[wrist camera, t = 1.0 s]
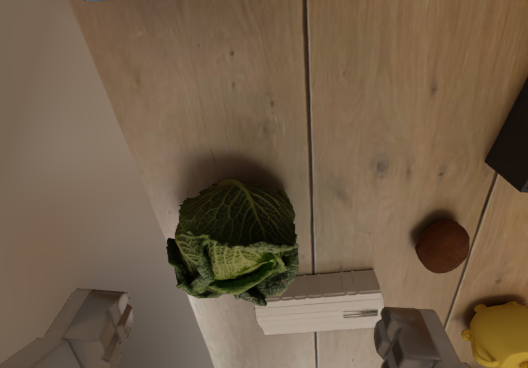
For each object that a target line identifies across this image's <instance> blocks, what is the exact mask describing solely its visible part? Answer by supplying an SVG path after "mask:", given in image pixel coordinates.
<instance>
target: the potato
mask: <svg viewBox="0 0 528 368" xmlns="http://www.w3.org/2000/svg"><path fill="white" fill-rule="evenodd" d="M469 239H470V238H469V235H468V233H467V232H466V230H465V229H464V228H463V227H462V226H460V225H459V224H458V223H457V222H455V221H453V220H450V219H443V220H440V221H437V222H435V223H433V224H432V225H430V226H429V227H428V228H427V229H426V230H425V231H424V232H423V233H422V235H421V236H420V237H419V239H418V240H417V243H416V246H415V249H416V253H417V256H418V258H419V260H420V261H421V262H422V264H423V265H424V266H425V267H426V268H427V269H428V270H430V271H431V272H433V273H446V272H449V271H452V270H453V269H455V268H457V267H458V266H459V265H460V264H461V263H462V262H463V261H464V260H465V259H466V258H467V255H468V252H469Z"/></svg>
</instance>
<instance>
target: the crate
mask: <svg viewBox="0 0 528 368" xmlns="http://www.w3.org/2000/svg"><path fill="white" fill-rule="evenodd" d="M485 162H486V163H487V164H488V165H489V166H490V167H491V168H493V169H494V170H495V171H496V172H497V173H498V174H500V175H501V176H502V177H503V178H504V179H505V180H507V181H508V182H509V183H510V184H511V185H513V186H514V187H515V188H516V189H517V190H518V191H520V192H527V193H528V79H527V81H526V83H525V85H524V87H523V89H522V91H521V93H520V94H519V96H518V98H517V100H516V102H515V104H514V106H513V108H512V110H511V112H510V114H509V116H508V118H507V120H506V122H505V124H504V125H503V127H502V129H501V131H500V133H499V135H498V137H497V139H496V141H495V143H494V145H493V147H492V149H491V151H490V153H489V155H488V157H487V158H486V160H485Z"/></svg>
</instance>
